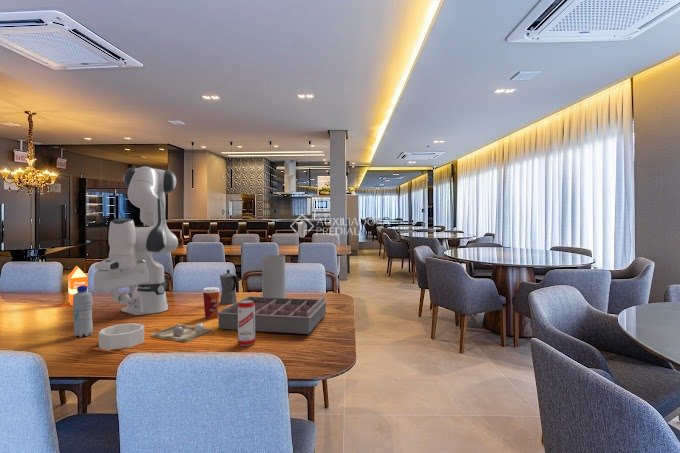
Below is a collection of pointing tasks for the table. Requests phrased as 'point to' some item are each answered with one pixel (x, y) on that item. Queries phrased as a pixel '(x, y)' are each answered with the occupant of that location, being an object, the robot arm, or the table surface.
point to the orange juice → (76, 282)
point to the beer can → (246, 322)
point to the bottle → (82, 312)
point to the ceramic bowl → (121, 336)
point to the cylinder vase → (273, 276)
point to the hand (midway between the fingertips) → (123, 299)
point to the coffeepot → (228, 288)
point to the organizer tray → (278, 314)
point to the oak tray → (185, 337)
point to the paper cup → (211, 302)
